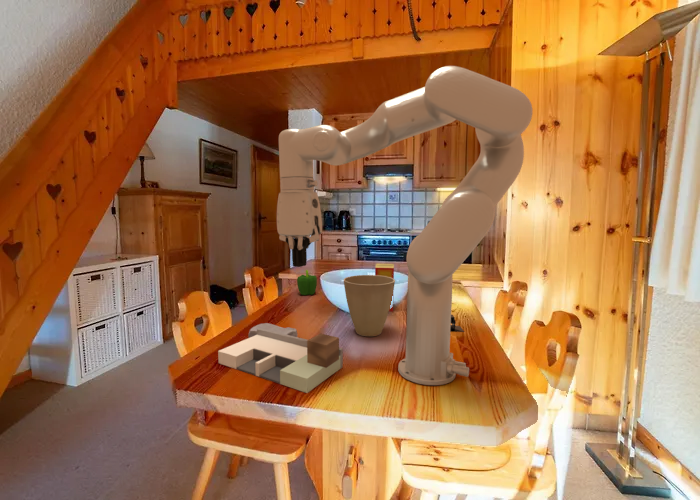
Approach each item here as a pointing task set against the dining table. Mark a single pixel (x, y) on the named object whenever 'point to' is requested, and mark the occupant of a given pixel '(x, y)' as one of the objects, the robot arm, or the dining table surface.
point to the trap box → (278, 360)
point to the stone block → (273, 329)
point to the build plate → (455, 328)
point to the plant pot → (369, 302)
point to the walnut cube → (323, 350)
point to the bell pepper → (307, 284)
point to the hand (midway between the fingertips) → (299, 265)
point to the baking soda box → (385, 272)
